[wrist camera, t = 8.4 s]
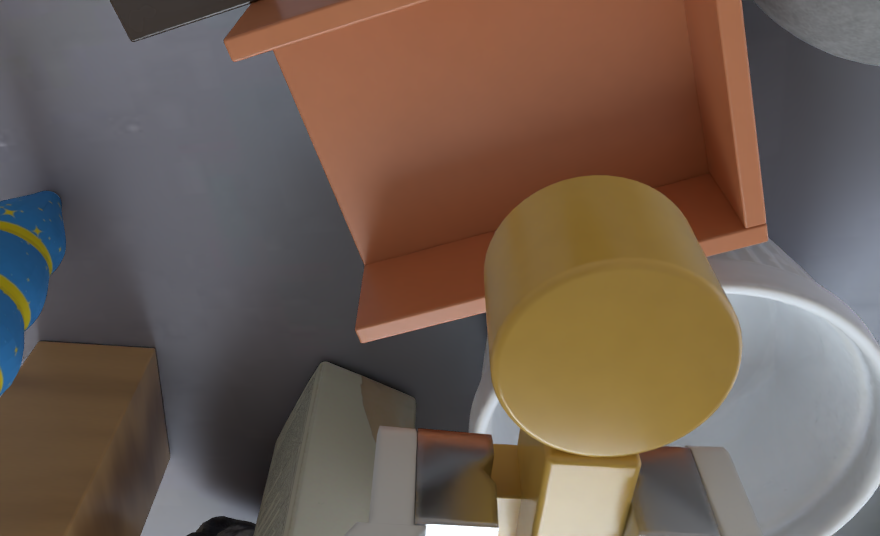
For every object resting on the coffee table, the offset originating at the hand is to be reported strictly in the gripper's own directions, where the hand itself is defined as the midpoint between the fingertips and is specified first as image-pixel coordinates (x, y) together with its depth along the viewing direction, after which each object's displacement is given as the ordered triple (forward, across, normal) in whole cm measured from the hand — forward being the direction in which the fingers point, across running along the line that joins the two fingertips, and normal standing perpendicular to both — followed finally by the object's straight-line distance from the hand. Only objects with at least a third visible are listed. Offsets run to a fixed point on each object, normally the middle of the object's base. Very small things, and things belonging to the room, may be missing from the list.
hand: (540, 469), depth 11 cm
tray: (+12, +2, -1) cm, 12 cm away
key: (+1, 0, -1) cm, 2 cm away
